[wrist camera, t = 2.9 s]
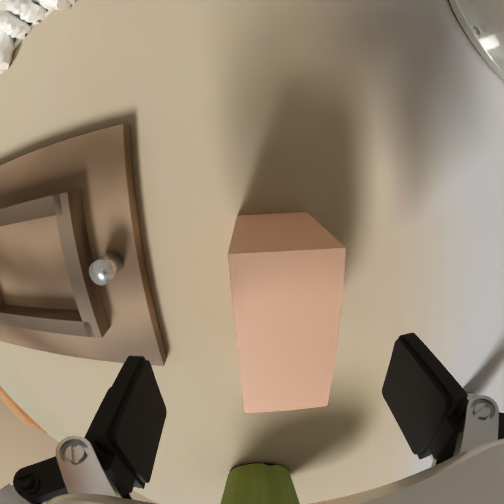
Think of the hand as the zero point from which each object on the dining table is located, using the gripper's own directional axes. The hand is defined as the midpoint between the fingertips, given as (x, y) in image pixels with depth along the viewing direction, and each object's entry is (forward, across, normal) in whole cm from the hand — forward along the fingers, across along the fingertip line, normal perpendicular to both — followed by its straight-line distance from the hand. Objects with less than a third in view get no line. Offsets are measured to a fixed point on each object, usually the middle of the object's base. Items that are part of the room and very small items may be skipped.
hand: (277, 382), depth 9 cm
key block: (+8, -1, -1) cm, 8 cm away
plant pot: (+9, +1, +25) cm, 27 cm away
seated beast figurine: (+8, +18, -25) cm, 32 cm away
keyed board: (+9, +17, -3) cm, 19 cm away
